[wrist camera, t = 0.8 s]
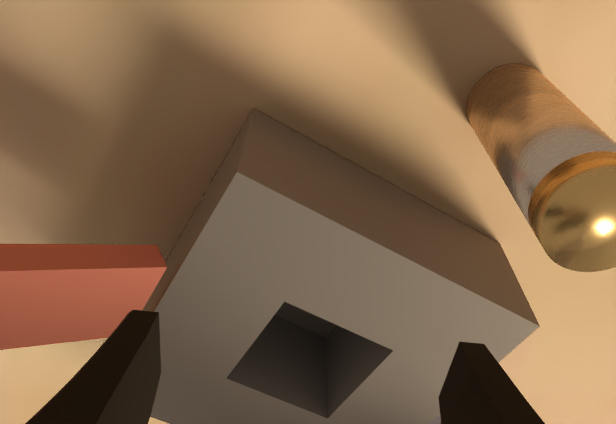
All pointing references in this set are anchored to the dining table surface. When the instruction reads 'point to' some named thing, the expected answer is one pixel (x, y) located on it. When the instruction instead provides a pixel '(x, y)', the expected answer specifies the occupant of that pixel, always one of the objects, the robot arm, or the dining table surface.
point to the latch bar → (72, 290)
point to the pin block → (321, 294)
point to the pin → (550, 164)
